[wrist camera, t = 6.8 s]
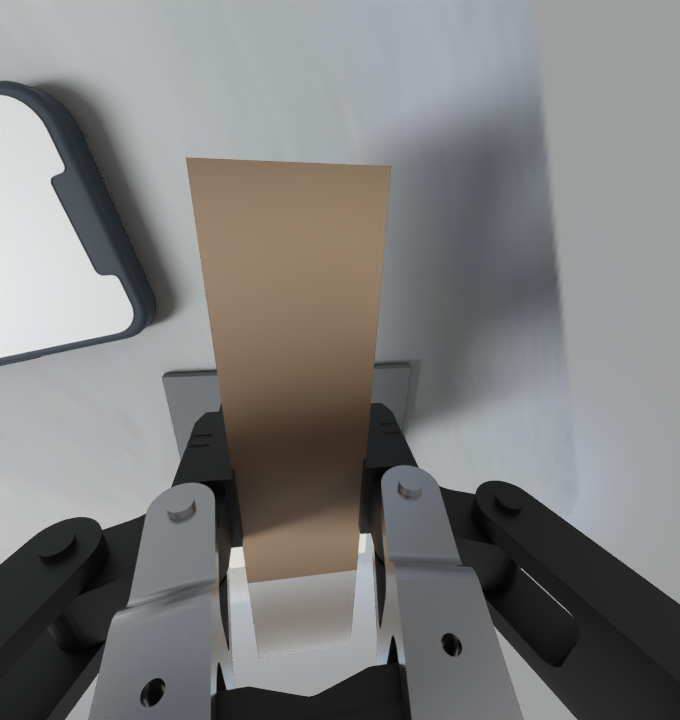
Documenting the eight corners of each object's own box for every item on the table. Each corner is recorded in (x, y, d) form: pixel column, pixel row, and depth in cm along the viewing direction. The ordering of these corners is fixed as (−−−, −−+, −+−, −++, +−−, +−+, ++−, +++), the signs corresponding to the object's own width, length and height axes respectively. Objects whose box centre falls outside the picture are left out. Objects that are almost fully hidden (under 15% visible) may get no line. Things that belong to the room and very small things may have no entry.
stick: (226, 168, 8) (186, 157, 5) (348, 172, 9) (390, 166, 5) (264, 544, 15) (258, 658, 11) (334, 536, 15) (350, 644, 12)
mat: (164, 373, 16) (162, 377, 16) (408, 364, 18) (411, 367, 18) (201, 540, 22) (200, 546, 22) (387, 521, 24) (388, 526, 23)
